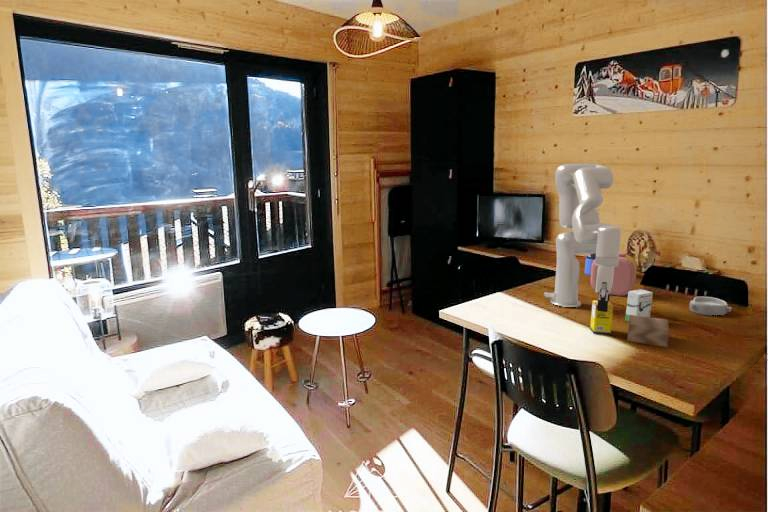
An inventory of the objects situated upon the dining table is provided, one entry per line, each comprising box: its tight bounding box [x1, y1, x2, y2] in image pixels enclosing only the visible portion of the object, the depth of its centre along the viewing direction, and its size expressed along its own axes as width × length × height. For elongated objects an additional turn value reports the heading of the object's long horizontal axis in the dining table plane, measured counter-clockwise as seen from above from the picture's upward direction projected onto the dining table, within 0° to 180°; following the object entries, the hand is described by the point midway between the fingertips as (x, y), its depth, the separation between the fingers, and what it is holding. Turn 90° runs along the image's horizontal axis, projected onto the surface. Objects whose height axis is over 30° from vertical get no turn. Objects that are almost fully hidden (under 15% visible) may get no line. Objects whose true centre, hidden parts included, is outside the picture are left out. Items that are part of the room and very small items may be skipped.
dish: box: [688, 296, 733, 317], centre depth 201 cm, size 14×14×5 cm
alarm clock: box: [589, 251, 638, 297], centre depth 228 cm, size 18×11×19 cm, turn 58°
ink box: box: [624, 289, 654, 323], centre depth 188 cm, size 9×5×12 cm, turn 117°
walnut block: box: [626, 315, 670, 348], centre depth 170 cm, size 12×12×6 cm
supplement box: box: [589, 299, 614, 336], centre depth 176 cm, size 6×6×11 cm
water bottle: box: [584, 253, 596, 277], centre depth 266 cm, size 9×9×25 cm
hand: (603, 307), depth 175 cm, fingers open, 9 cm apart
